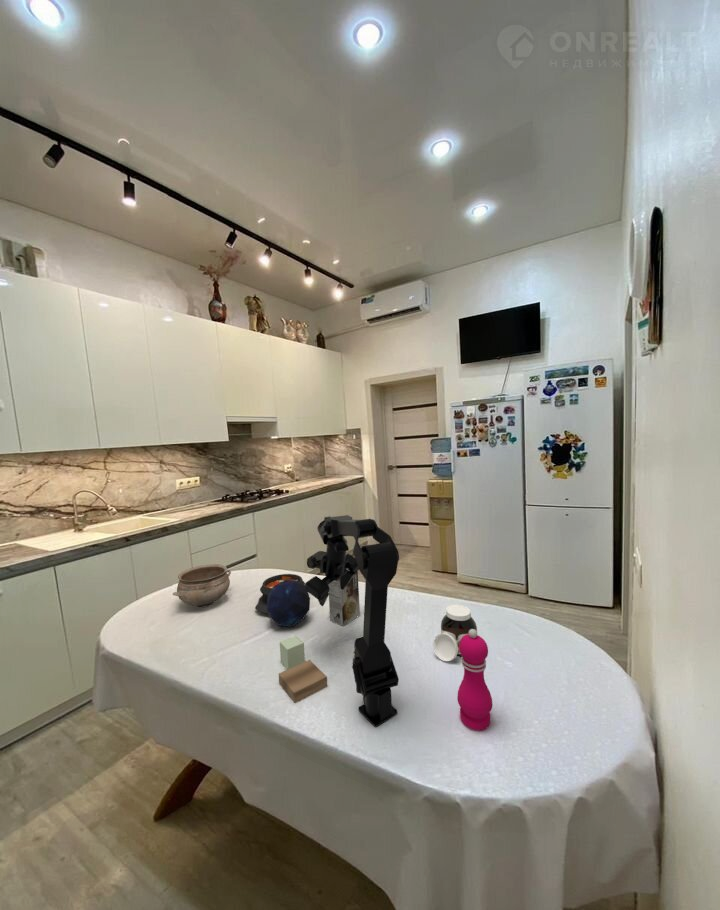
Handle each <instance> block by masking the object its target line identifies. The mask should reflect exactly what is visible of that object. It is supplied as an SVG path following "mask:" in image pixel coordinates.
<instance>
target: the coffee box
mask: <svg viewBox="0 0 720 910" xmlns="http://www.w3.org/2000/svg"><path fill="white" fill-rule="evenodd" d="M328 586H329V592H328V593H329V596H328V601H329V602H328V607H329V621H330V622H331V621H332V623H334V624H336V623H337V625H339V626H342V627H344V626H346V625H347V624H349V623H351V622H352V621H354V620H355V619H356V618H358V617H360V616H361V610H360V591H359V590H360V589H359V573H358V572H357V573H356V574H355V575H354V576H353V578H352V579H351V580H350V582H349V583H348V584H347V586H346V587H345V588H344V590H342V589H341V588H340V579H338V580H337V581H336V580H335V581H334V582H332V583H331V584H330V585H328ZM357 616H358V617H357Z"/></svg>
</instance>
